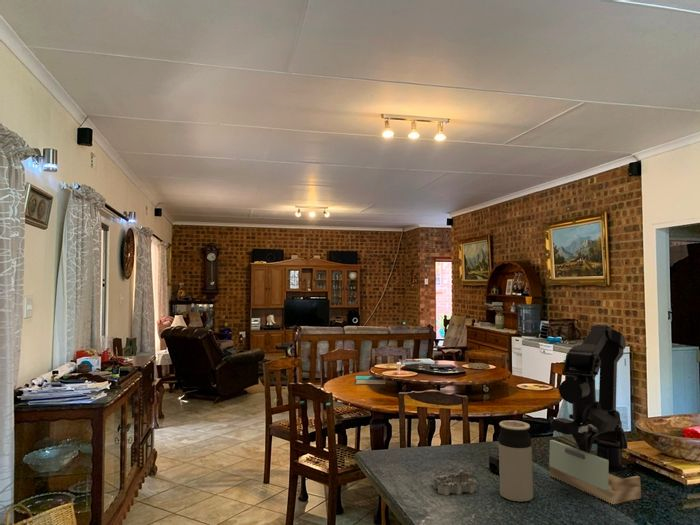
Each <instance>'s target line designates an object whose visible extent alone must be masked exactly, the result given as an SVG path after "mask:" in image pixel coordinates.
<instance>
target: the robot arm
mask: <svg viewBox="0 0 700 525" xmlns="http://www.w3.org/2000/svg"><path fill="white" fill-rule="evenodd" d="M626 344H627V342H626V338H625V336H624V335H623V333H622V332H620V331H618V330H615V329H613V328H612V326H609V325H604V324H603V325H602V324H601V325H600V324H594V325H591V326H590V331H589V332H588V334H587V336H586V337H585V339H584V340H583V341H582V342H581V344H578V345H573V347H571V348H570V349H569V350H568V352H567V353H566V356H565V360H564V363H563V370H562V373H561V374H562V376H565V377H566V379H565V380H564V381H562V382H560V384H559V386H558V392H559V396H560V397H561V399H562V400H564V401H565V402H567V403H569V404H571V405H572V406H571V407H572V408H571V409H572V413H571V414H569V415H568V418H564V417H557V418H552V419H551V420H550V430H551V431H555V432H556V433H557V432H558V433H560V434H563V435H566V436H568V435H569V436H572V438H573V439H574V441H575V442H576V444H577V447H578V449H579V450H582V451H584V452H587V453H590V454H591V449H592V447H593V445H596V456H598V457H601V458H603V459H606V460H609V467H608V471H612V472H613V471H618V470H623V469H627V465H625V464H623V458H622V456H623V454H622V450H624V449H625V450H626V449H628V438H627V436H626V433H625V430H624V428H623V424H622V423H623V421H622V420H621V414H620V412H619V411H618V410H617V381H618V379H617V378H618V377H617V376H618V373H617V372H618V362H619V361H620V360H621V358H622V357H623V356H624V350H625V349H626ZM598 375H599V380H598V381H599V383H598V384H599V386H598V387H599V388H598V389H599V390H598V401H597V398H596V397H597V394H596V377H597V376H598Z"/></svg>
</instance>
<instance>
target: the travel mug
mask: <svg viewBox="0 0 700 525" xmlns="http://www.w3.org/2000/svg"><path fill="white" fill-rule="evenodd" d="M498 424H499V426H500V432H499V434H498V455H499V477H500V478H499V477H498V478H499V494H500V496H501V497H503V498H504V499H505V500H509V501H513V502H516V501H517V502H516V503H521V502H522V503H524V501H525V502H528V501H531V500H533V498H534V495H533V494H534V489H533V484H534V483H533V455H532V454H533V453H532V452H533V451H532V447H533V446H532V436H531V435H530V433H529V430H530V428H531V425H530V424H529V423H528V422H524V421H520V420H514V419H513V420H501V421H500V422H499V423H498Z"/></svg>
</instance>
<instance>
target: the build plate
mask: <svg viewBox="0 0 700 525" xmlns="http://www.w3.org/2000/svg"><path fill="white" fill-rule="evenodd" d="M488 465H489V467H484V468H486V469H488V470H489V471H490V472H492V473H493V474H492V473H491V474H492V475H494V474H496V475H498V476H499V453H498V454H492V455H489V458H488ZM490 472H489V473H490Z"/></svg>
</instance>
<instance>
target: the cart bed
mask: <svg viewBox="0 0 700 525" xmlns="http://www.w3.org/2000/svg"><path fill="white" fill-rule="evenodd" d="M549 476H550V477H551V476H552V477H551V478H553V477H554V479H555V478H557V479H556V480H558V479H559V480H558V481H560V480H561V481H560V482H562V481H563V482H562V483H564V482H566V483H568V484H570V485H569V486H571V485H572V486H571V487H573V486H574V487H573V488H575V487H576V488H575V489H577V488H578V489H577V490H579V489H580V490H579V491H581V490H582V492H584V491H585V492H584V493H586V492H587V493H586V494H588V493H589V495H590V494H591V495H590V496H592V495H593V497H594V496H595V497H594V498H596V499H599V498H600V499H599V500H601V499H602V500H601V501H603V500H604V501H603V502H605V501H606V502H605V503H607V502H609V503H608V504H610V503H611V504H610V505H612V504H613V505H617V504H621V503H625V502H630V501H633V500H635V501H636V500H639V499H641V498H642V490H641V489H642V488H641V486H642V485H641V476H639V475H635V476H630V477H625V478H622V477H619V476H617V475H614V474H612V473H609V472H608V490H603V489H601V488H599V487H596V486H594V485H592V484H590V483H587V482H585V481H583V480H580V479H578V478H576V477H574V476H571V475H569V474H567V473H564V472H562V471H560V470H558V469H555V468H553V467H551V466H549ZM566 483H565V484H566ZM568 484H567V485H568Z"/></svg>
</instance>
